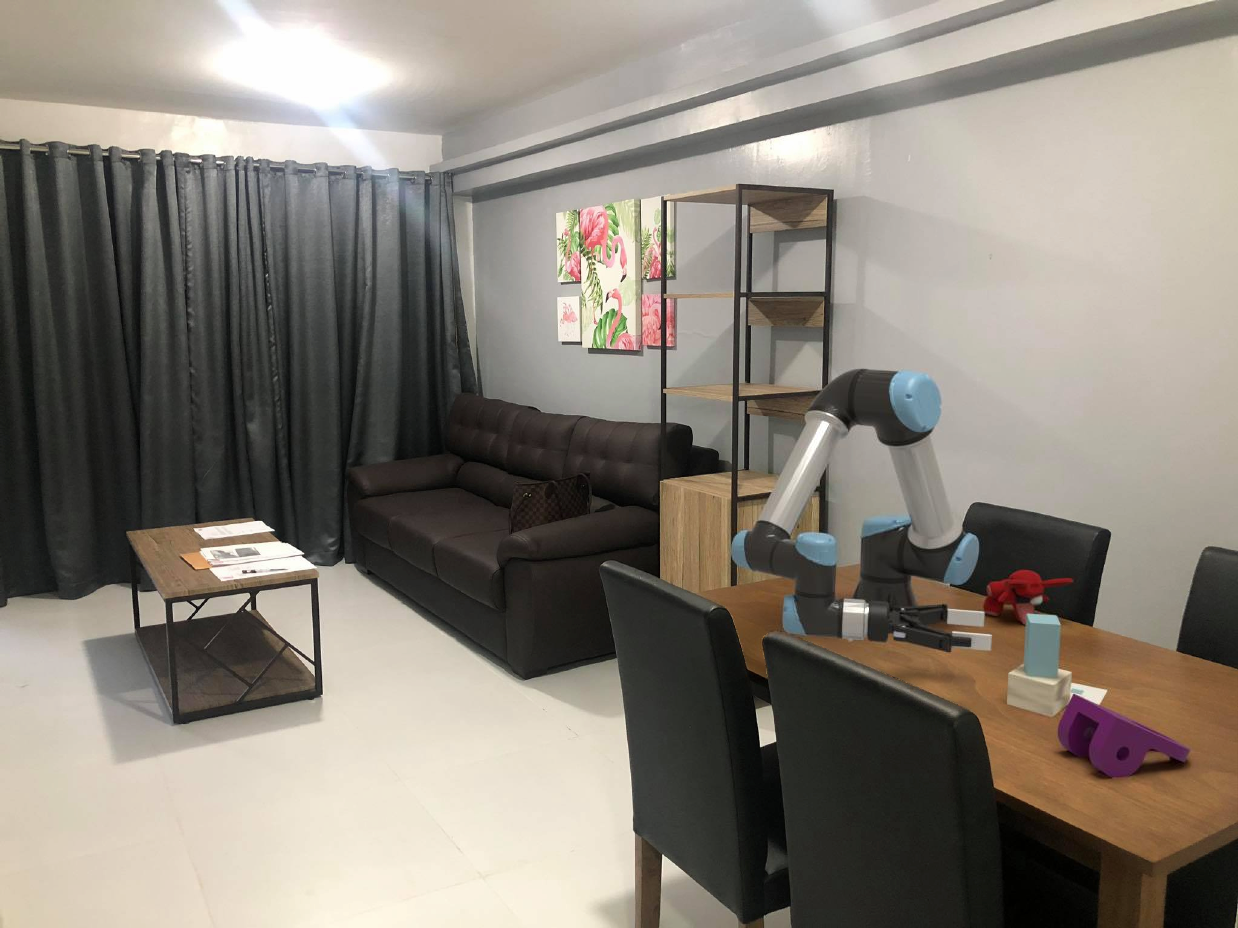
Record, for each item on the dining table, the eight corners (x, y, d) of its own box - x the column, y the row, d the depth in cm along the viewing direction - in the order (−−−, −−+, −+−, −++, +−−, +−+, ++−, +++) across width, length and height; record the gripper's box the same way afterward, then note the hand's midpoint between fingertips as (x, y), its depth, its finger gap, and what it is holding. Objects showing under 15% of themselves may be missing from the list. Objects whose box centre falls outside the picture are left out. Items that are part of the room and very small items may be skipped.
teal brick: (1023, 665, 179) (1026, 613, 177) (1053, 667, 177) (1056, 615, 176) (1027, 676, 174) (1030, 622, 172) (1057, 678, 173) (1060, 624, 171)
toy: (976, 634, 227) (1017, 619, 212) (965, 582, 231) (1005, 564, 216) (1038, 632, 230) (1083, 617, 215) (1027, 580, 235) (1069, 562, 220)
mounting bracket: (1133, 777, 162) (1049, 741, 157) (1157, 730, 162) (1073, 693, 157) (1179, 806, 153) (1091, 768, 148) (1204, 756, 153) (1117, 717, 147)
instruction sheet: (1056, 680, 188) (1056, 678, 188) (1107, 691, 183) (1107, 689, 183) (1041, 700, 178) (1041, 698, 178) (1095, 712, 173) (1095, 710, 173)
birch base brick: (1025, 691, 182) (1027, 660, 181) (1069, 703, 177) (1071, 671, 175) (1006, 704, 177) (1008, 673, 176) (1051, 717, 171) (1053, 685, 170)
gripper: (867, 619, 195) (980, 628, 190) (864, 662, 171) (993, 674, 166) (869, 583, 194) (982, 591, 189) (866, 621, 170) (995, 632, 165)
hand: (987, 630), depth 177 cm, fingers open, 13 cm apart
